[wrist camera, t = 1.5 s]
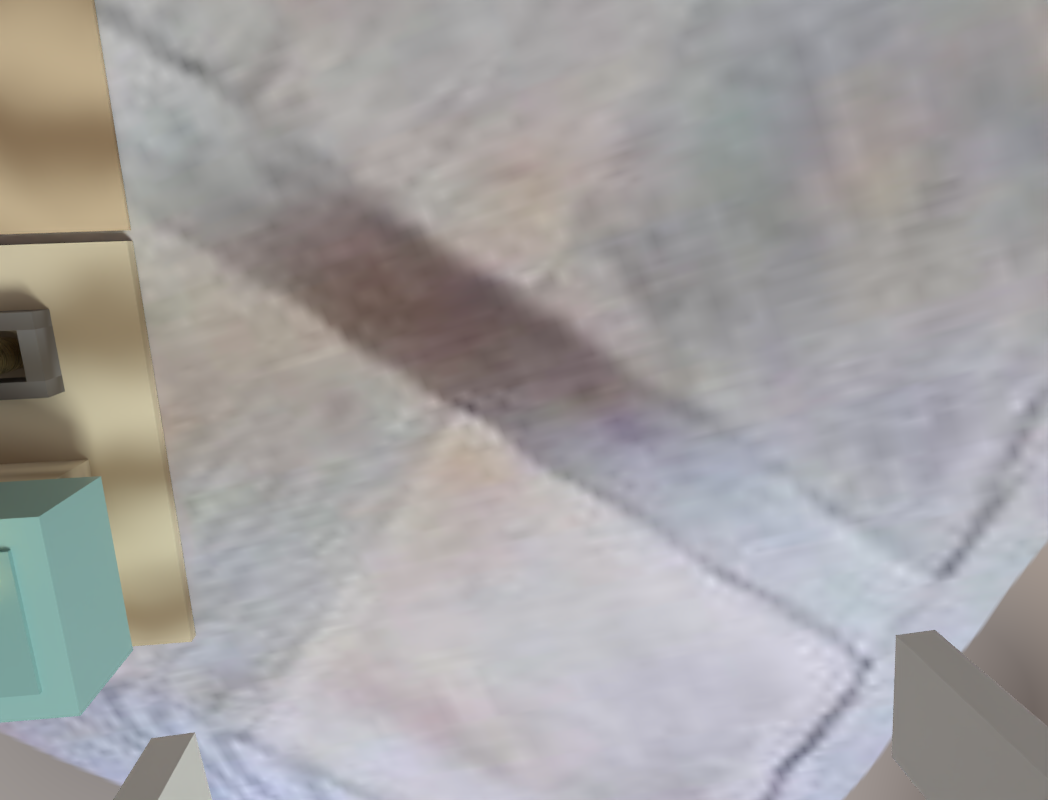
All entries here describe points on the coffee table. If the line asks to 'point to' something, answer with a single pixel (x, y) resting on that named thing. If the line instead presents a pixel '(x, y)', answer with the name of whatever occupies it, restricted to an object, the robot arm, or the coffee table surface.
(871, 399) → the coffee table surface
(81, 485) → the cover
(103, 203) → the pad
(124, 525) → the housing
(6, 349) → the t key
